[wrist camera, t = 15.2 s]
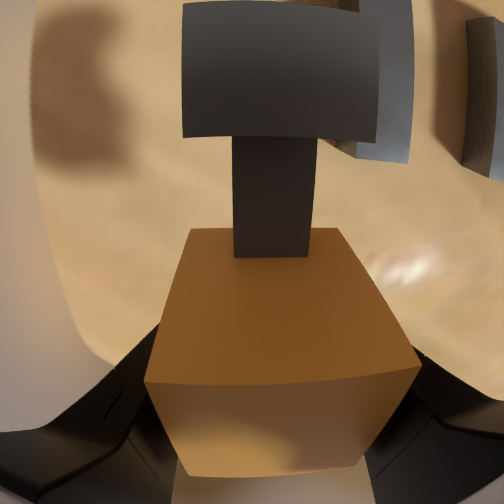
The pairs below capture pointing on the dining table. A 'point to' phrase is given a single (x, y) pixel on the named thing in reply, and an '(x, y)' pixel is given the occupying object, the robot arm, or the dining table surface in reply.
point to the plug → (276, 254)
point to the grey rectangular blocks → (402, 89)
